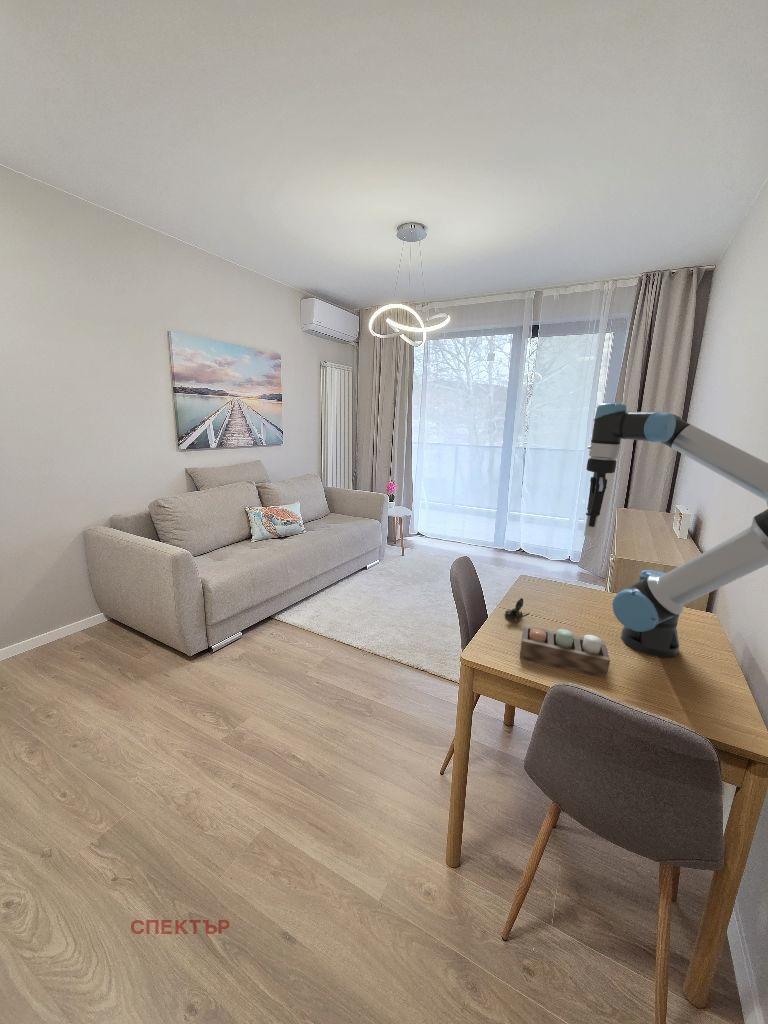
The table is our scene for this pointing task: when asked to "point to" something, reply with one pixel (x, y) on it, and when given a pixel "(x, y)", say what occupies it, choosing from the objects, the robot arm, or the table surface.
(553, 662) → the wooden egg holder
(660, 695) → the table surface
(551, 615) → the table surface
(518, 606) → the eagle figurine
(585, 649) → the white rounded block
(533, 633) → the pink rounded block
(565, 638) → the sage button
